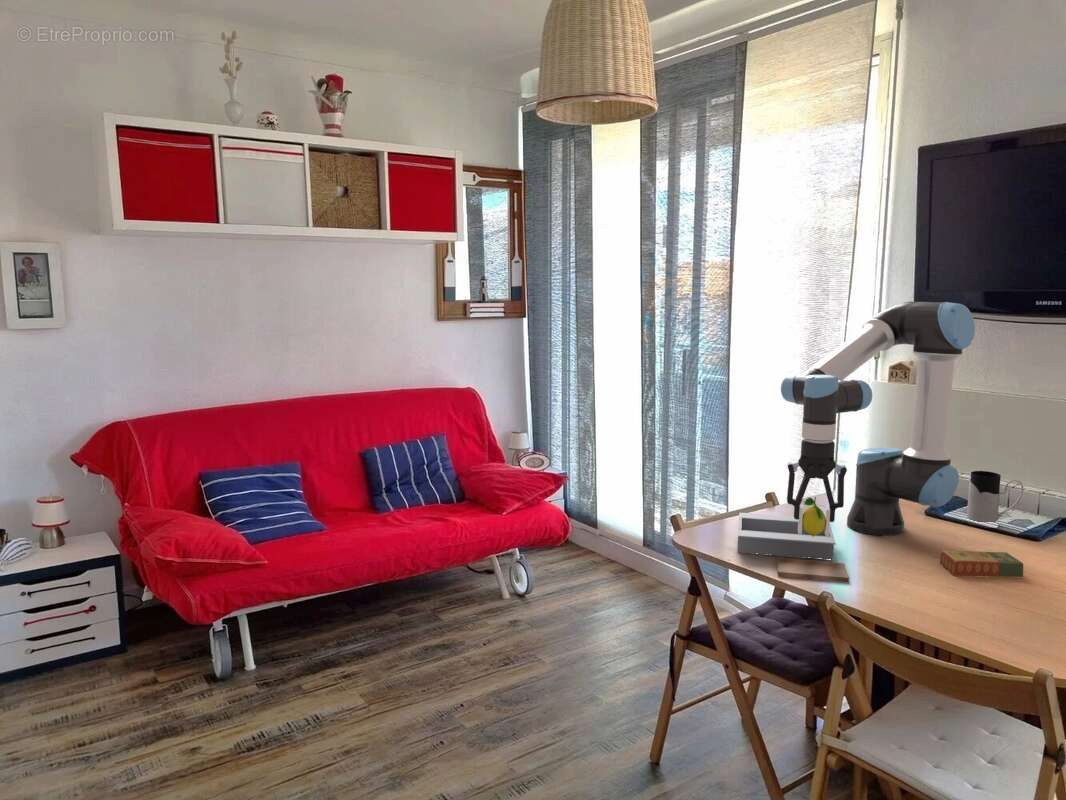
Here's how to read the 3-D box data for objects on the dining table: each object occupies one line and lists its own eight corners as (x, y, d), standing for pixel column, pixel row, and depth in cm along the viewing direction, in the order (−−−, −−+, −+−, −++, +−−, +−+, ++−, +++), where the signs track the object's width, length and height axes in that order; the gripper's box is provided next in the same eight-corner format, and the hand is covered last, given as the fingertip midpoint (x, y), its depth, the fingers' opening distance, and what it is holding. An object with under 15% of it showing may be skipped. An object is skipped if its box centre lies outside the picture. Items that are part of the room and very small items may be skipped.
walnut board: (844, 567, 198) (844, 563, 198) (848, 582, 189) (848, 577, 188) (776, 562, 202) (777, 557, 202) (778, 576, 193) (778, 571, 193)
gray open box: (827, 539, 219) (828, 518, 218) (834, 566, 199) (835, 543, 198) (738, 533, 225) (739, 512, 224) (737, 557, 206) (737, 535, 205)
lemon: (802, 530, 198) (804, 491, 197) (827, 534, 195) (829, 494, 194) (796, 538, 193) (798, 498, 191) (822, 542, 190) (824, 501, 188)
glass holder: (961, 518, 237) (965, 469, 235) (1014, 522, 233) (1019, 472, 231) (968, 527, 229) (972, 476, 226) (1024, 531, 225) (1029, 479, 223)
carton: (939, 565, 200) (940, 549, 200) (1005, 567, 199) (1007, 550, 198) (953, 577, 192) (955, 560, 192) (1023, 579, 191) (1024, 562, 190)
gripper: (857, 438, 191) (851, 531, 195) (777, 434, 196) (773, 525, 200) (861, 445, 184) (855, 541, 188) (778, 440, 189) (773, 534, 193)
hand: (813, 533), depth 194 cm, fingers closed on lemon, 5 cm apart
